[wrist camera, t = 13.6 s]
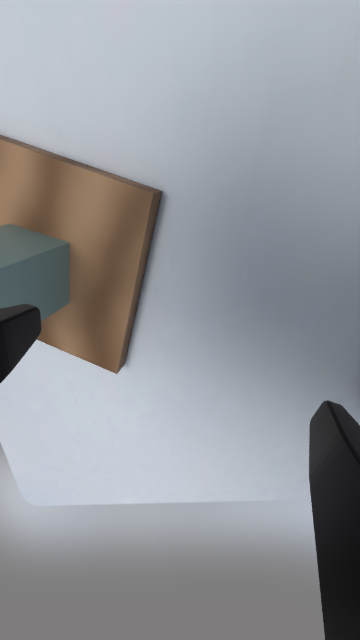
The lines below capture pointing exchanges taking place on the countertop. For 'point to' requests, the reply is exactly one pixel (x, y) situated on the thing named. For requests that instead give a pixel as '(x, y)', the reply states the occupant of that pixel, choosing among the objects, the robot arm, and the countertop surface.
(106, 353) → the stand
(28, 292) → the tall sage green block
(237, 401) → the countertop surface
